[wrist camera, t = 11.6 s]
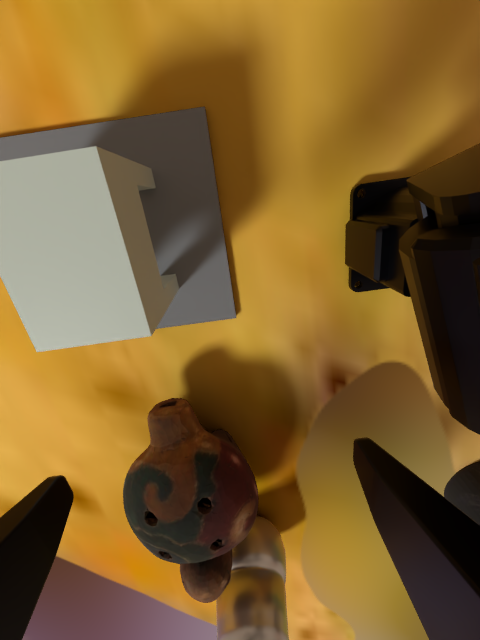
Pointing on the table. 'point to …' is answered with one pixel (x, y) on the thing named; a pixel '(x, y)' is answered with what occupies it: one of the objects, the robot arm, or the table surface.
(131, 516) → the painted clay ocarina
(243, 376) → the table surface
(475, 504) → the travel mug
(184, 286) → the mat
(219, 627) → the plastic bottle
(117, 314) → the notched white block
